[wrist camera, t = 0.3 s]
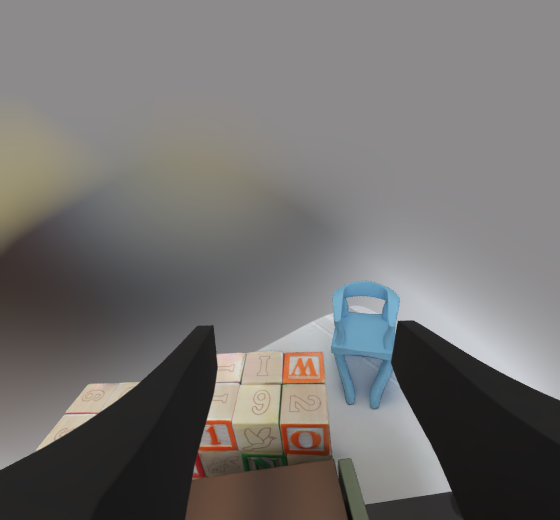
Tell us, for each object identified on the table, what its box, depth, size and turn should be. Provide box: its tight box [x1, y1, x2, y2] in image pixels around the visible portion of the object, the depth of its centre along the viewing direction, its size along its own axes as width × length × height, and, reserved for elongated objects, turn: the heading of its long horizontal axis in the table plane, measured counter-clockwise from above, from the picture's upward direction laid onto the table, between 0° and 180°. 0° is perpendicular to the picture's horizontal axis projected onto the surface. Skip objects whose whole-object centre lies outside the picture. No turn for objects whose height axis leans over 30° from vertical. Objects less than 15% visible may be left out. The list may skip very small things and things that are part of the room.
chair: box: [331, 281, 400, 409], centre depth 33 cm, size 8×8×12 cm
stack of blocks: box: [35, 351, 332, 480], centre depth 24 cm, size 21×6×12 cm, turn 86°
